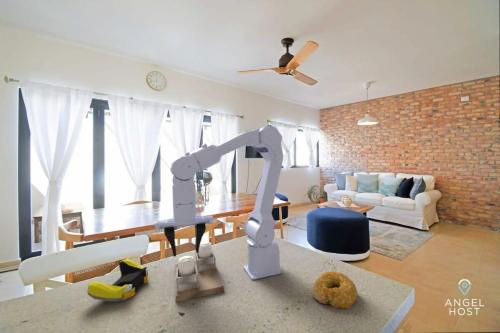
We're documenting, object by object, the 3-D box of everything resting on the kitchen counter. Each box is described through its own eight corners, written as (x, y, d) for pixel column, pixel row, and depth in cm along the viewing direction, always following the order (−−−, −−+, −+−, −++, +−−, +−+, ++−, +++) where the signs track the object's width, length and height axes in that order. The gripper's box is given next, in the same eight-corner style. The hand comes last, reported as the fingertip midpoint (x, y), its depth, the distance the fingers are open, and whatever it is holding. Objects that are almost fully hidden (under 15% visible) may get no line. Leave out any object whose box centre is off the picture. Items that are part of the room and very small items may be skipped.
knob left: (193, 268, 61) (193, 254, 61) (195, 275, 57) (194, 260, 57) (178, 271, 60) (178, 257, 60) (179, 279, 56) (178, 263, 56)
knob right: (210, 253, 71) (210, 241, 70) (212, 258, 67) (212, 245, 67) (197, 255, 69) (197, 243, 69) (199, 261, 65) (199, 247, 65)
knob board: (212, 262, 73) (212, 247, 73) (223, 291, 57) (223, 272, 57) (175, 269, 69) (174, 253, 69) (175, 302, 53) (175, 282, 53)
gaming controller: (83, 308, 52) (123, 309, 51) (82, 286, 52) (121, 287, 51) (124, 274, 67) (155, 275, 66) (123, 257, 67) (154, 257, 66)
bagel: (304, 287, 59) (304, 270, 58) (341, 283, 61) (341, 266, 60) (323, 314, 49) (323, 293, 49) (366, 307, 51) (367, 287, 51)
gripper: (209, 197, 64) (210, 243, 64) (155, 202, 59) (157, 251, 60) (213, 202, 57) (215, 253, 58) (153, 207, 52) (155, 263, 53)
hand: (186, 253), depth 58 cm, fingers open, 5 cm apart
